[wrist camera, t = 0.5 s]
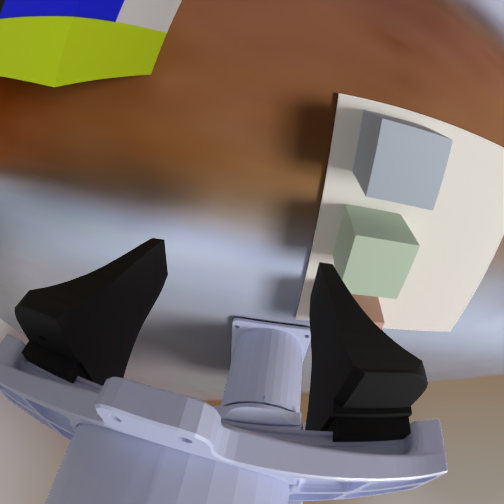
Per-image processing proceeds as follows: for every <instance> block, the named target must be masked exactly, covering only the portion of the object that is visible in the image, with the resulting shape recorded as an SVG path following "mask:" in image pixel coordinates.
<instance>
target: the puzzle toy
mask: <svg viewBox="0 0 504 504" xmlns="http://www.w3.org/2000/svg"><path fill="white" fill-rule="evenodd" d="M181 1H182V0H0V76H2V77H8V78H13V79H18V80H23V81H28V82H33V83H38V84H42V85H46V86H51V87H58V86H63V85H68V84H73V83H79V82H85V81H92V80H98V79H106V78H114V77H124V76H135V75H150V74H151V73H152V70H153V67H154V64H155V62H156V59H157V56H158V54H159V51H160V49H161V46H162V43H163V41H164V39H165V36H166V34H167V31H168V29H169V27H170V25H171V22H172V20H173V18H174V16H175V13H176V11H177V9H178V7H179V5H180V3H181Z"/></svg>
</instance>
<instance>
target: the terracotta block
mask: <svg viewBox="0 0 504 504" xmlns="http://www.w3.org/2000/svg"><path fill="white" fill-rule="evenodd" d="M352 296H353V297H354V299H355V300H356V302H357V303H358V304H359V306H360V307H361V308H362V309H363V311H364V312H365V313H366V314H367V315H368V316H369V318H370V319H371V320H372V321H373V322H374V323H375V324H376V325H377V326H378V327H379V328H380V329H382V327H383V325H384V323H385V322H384V318H383V314H382V310H381V306H380V303H379V299H378V297H374V296H365V295H356V294H352Z"/></svg>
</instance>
